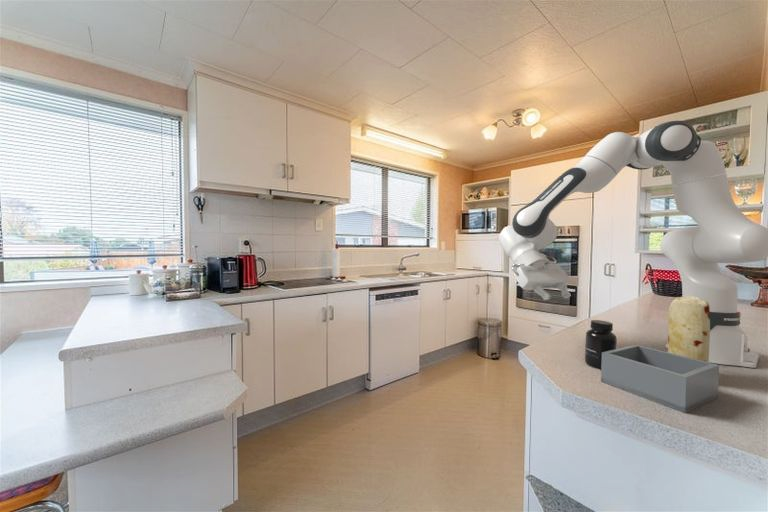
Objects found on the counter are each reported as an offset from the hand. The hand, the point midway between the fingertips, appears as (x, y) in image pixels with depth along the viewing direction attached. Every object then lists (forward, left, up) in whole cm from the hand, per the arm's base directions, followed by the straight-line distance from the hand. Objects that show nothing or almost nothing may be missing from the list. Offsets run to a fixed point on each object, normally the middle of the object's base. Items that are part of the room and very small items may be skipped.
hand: (558, 298), depth 92 cm
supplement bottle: (0, +12, -17) cm, 21 cm away
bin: (+3, +26, -17) cm, 31 cm away
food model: (-13, +25, -17) cm, 33 cm away
